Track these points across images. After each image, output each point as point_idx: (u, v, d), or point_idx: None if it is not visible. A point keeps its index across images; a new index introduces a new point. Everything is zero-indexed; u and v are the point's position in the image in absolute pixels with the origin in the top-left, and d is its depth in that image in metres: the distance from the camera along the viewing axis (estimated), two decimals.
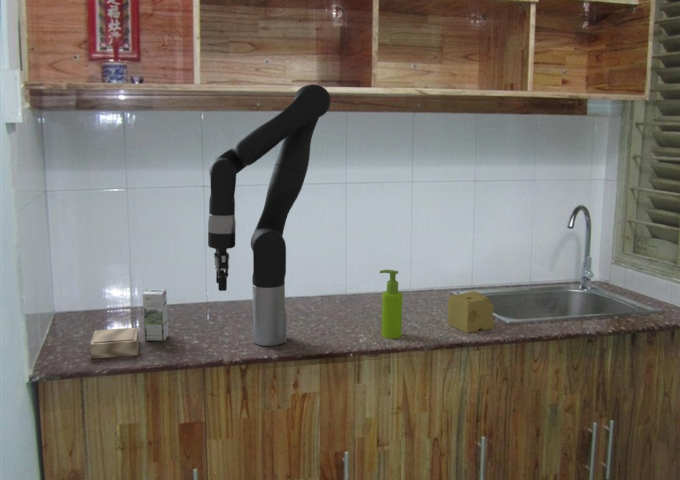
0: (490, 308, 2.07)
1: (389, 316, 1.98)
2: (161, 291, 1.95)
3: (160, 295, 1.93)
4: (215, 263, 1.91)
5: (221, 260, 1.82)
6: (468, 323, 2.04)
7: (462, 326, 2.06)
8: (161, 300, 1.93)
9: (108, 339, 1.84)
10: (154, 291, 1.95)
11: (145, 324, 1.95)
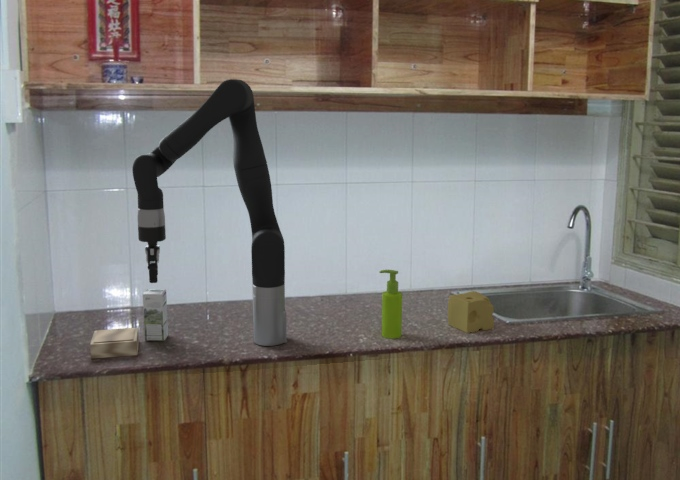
0: (490, 308, 2.07)
1: (389, 316, 1.98)
2: (161, 291, 1.95)
3: (160, 295, 1.93)
4: None
5: (149, 253, 1.87)
6: (468, 323, 2.04)
7: (462, 326, 2.06)
8: (161, 300, 1.93)
9: (108, 339, 1.84)
10: (154, 291, 1.95)
11: (145, 324, 1.95)
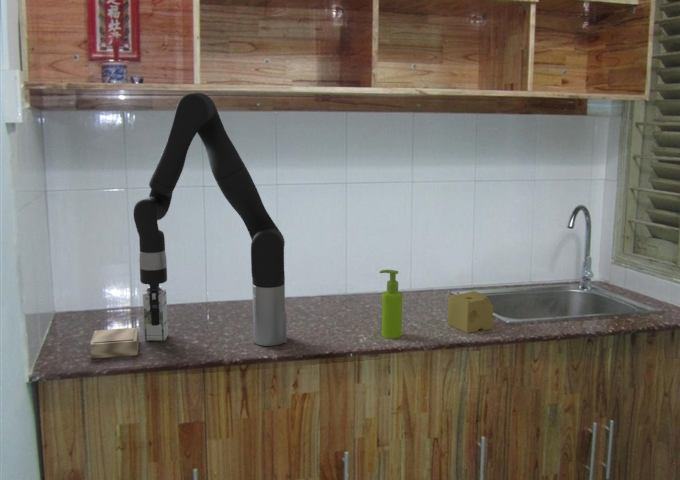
0: (490, 308, 2.07)
1: (389, 316, 1.98)
2: (161, 291, 1.95)
3: (160, 295, 1.93)
4: None
5: (151, 298, 1.89)
6: (468, 323, 2.04)
7: (462, 326, 2.06)
8: (161, 300, 1.93)
9: (108, 339, 1.84)
10: None
11: (145, 324, 1.95)
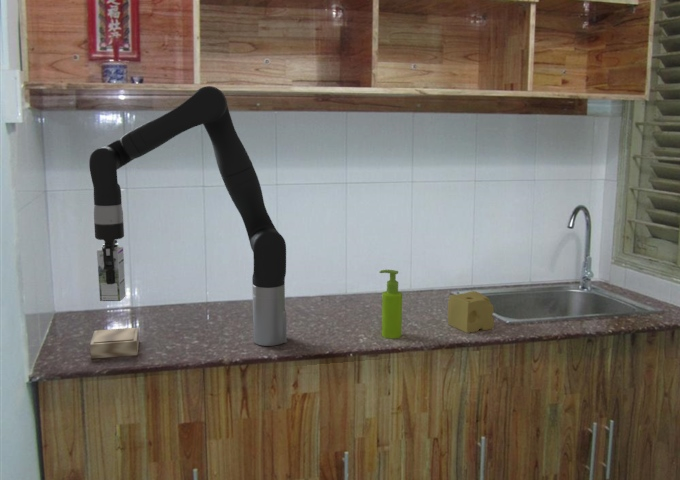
0: (490, 308, 2.07)
1: (389, 316, 1.98)
2: (117, 248, 1.83)
3: (115, 251, 1.81)
4: None
5: (105, 253, 1.77)
6: (468, 323, 2.04)
7: (462, 326, 2.06)
8: (116, 257, 1.81)
9: (108, 339, 1.84)
10: None
11: (100, 283, 1.83)
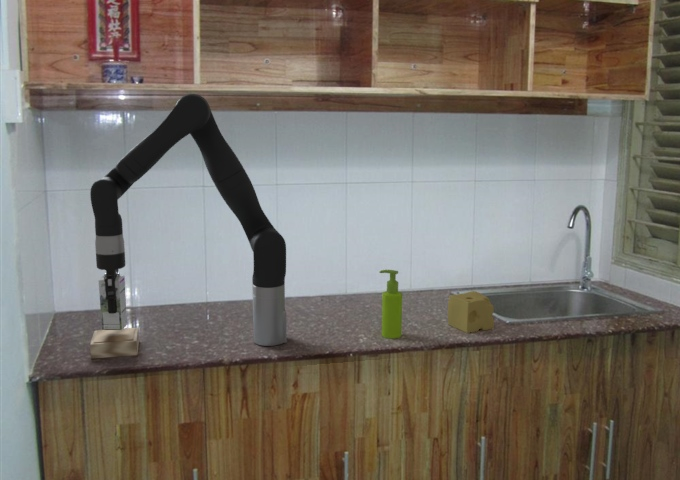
0: (490, 308, 2.07)
1: (389, 316, 1.98)
2: None
3: (117, 281, 1.82)
4: None
5: (107, 284, 1.79)
6: (468, 323, 2.04)
7: (462, 326, 2.06)
8: (118, 286, 1.83)
9: (108, 339, 1.84)
10: None
11: (102, 312, 1.84)
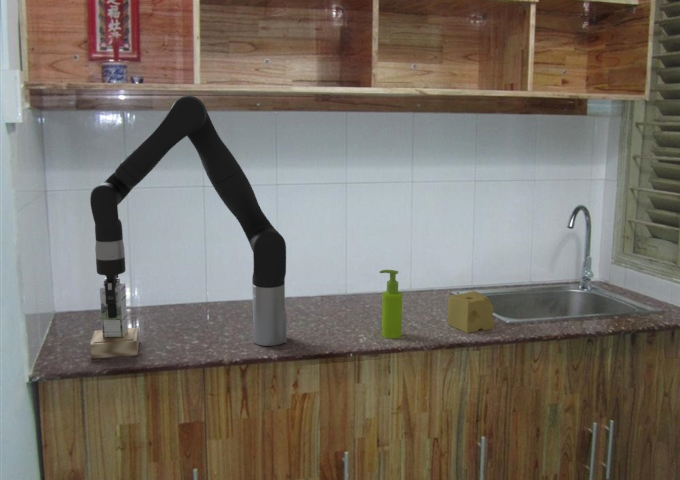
0: (490, 308, 2.07)
1: (389, 316, 1.98)
2: (119, 285, 1.85)
3: (118, 289, 1.83)
4: None
5: (107, 288, 1.79)
6: (468, 323, 2.04)
7: (462, 326, 2.06)
8: (119, 294, 1.83)
9: (108, 339, 1.84)
10: None
11: (103, 320, 1.84)
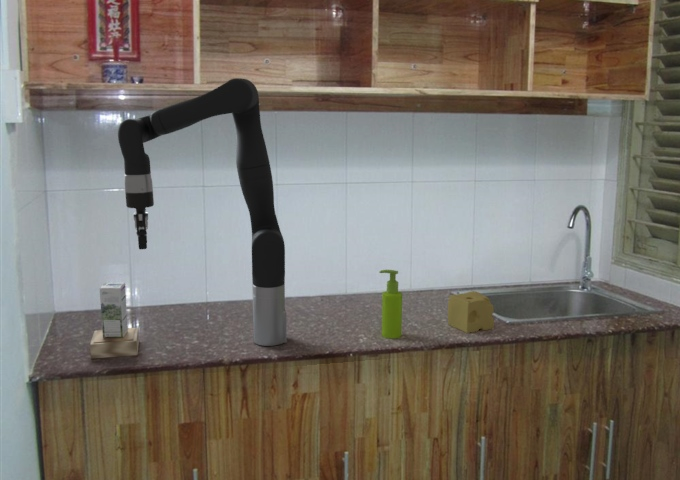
0: (490, 308, 2.07)
1: (389, 316, 1.98)
2: (119, 285, 1.85)
3: (118, 289, 1.83)
4: None
5: (138, 218, 1.85)
6: (468, 323, 2.04)
7: (462, 326, 2.06)
8: (119, 294, 1.83)
9: (108, 339, 1.84)
10: (112, 285, 1.85)
11: (103, 320, 1.84)
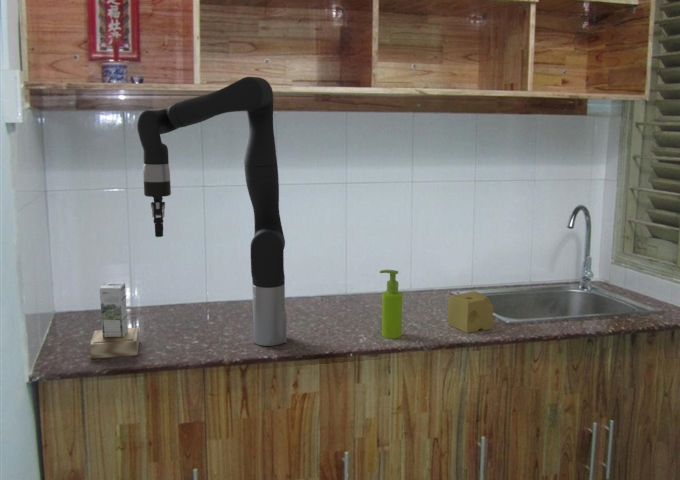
0: (490, 308, 2.07)
1: (389, 316, 1.98)
2: (119, 285, 1.85)
3: (118, 289, 1.83)
4: None
5: (155, 207, 1.91)
6: (468, 323, 2.04)
7: (462, 326, 2.06)
8: (119, 294, 1.83)
9: (108, 339, 1.84)
10: (112, 285, 1.85)
11: (103, 320, 1.84)
